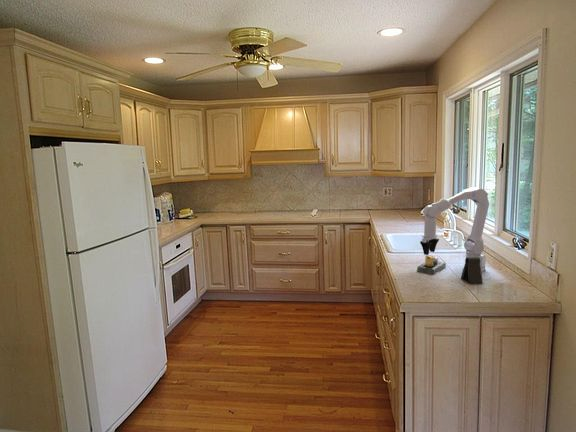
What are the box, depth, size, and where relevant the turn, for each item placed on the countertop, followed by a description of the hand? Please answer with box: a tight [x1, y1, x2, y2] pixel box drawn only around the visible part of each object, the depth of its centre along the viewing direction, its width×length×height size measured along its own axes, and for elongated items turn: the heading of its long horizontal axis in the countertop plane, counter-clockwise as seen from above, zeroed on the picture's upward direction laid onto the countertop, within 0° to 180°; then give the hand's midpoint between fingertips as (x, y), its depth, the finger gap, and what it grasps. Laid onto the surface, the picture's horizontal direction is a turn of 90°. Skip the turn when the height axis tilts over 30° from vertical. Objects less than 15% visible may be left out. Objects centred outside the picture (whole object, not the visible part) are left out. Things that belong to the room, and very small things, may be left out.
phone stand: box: [460, 257, 484, 285], centre depth 193 cm, size 9×6×12 cm, turn 6°
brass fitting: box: [424, 255, 434, 268], centre depth 211 cm, size 4×4×8 cm
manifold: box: [416, 256, 447, 275], centre depth 214 cm, size 9×16×6 cm, turn 137°
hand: (429, 253), depth 210 cm, fingers open, 7 cm apart
